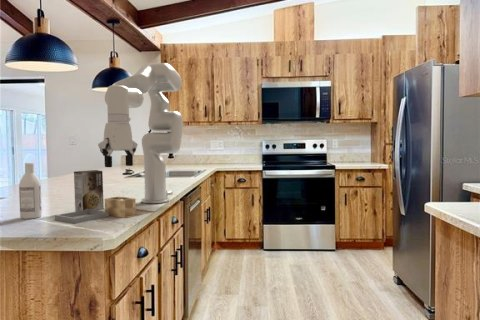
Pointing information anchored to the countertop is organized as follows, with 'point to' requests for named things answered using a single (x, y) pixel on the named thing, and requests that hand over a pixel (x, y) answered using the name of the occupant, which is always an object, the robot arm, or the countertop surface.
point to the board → (139, 213)
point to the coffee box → (88, 190)
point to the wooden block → (120, 206)
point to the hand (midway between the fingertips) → (119, 166)
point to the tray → (69, 217)
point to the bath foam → (30, 194)
